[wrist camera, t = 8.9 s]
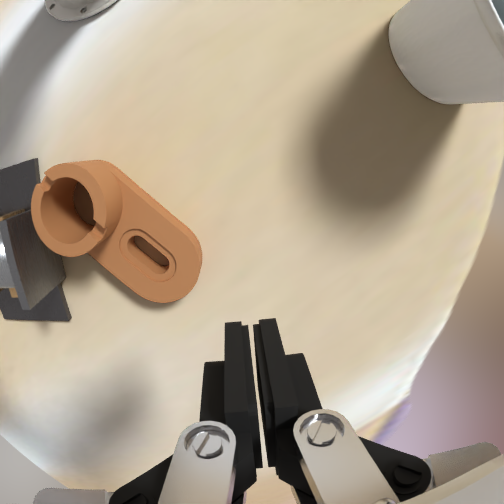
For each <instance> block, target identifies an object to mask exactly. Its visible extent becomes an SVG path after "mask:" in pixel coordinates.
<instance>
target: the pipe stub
mask: <svg viewBox="0 0 504 504" xmlns="http://www.w3.org/2000/svg"><path fill="white" fill-rule="evenodd" d="M36 184H40V175H39V165H38V158H36V159H31V160H28V161H25V162H22V163H19V164H16V165H13V166H10V167H8V168H5V169H2V170H0V309H1V311H2V314H3V317H4V319H17V320H51V321H69V320H70V319H71V318H72V317H71V314H70V311H69V308H68V305H67V302H66V299H65V296H64V292H63V289H62V285H61V282H62V281H63V280H64V279H65V278H66V275H65V271H64V267H63V263H62V259H61V255H60V254H57V253H55V252H54V251H52V250H51V249H50V248H48V247H47V246H46V245H45V244H44V243H43V241H42V240H41V239H40V237H39V235H38V234H37V232H36V229H35V227H34V224H33V220H32V214H31V201H32V195H33V191H34V188H35V186H36Z"/></svg>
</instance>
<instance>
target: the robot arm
mask: <svg viewBox="0 0 504 504" xmlns="http://www.w3.org/2000/svg"><path fill="white" fill-rule="evenodd" d="M116 1H117V0H45V4H46V9H47V11H48V13H49V14H50V15H52V16H53V17H54V18H56V19H58V20H61V21H77V20H82V19H85V18H88V17H90V16H93V15H95V14H97V13H99V12H101V11H102V10H104V9H106V8H107V7H109V6H110V5H112V4H113V3H114V2H116ZM253 331H254V343H255V356H256V368H257V381H258V391H259V399H260V407H261V414H262V422H263V430H264V437H265V445H266V452H267V460H268V467H275V468H276V475H278V476H279V479H281V480H282V481H284V482H286V483H288V484H290V486H291V490H292V493H293V495H294V498H295V500H296V503H297V504H504V454H502V455H501V453H500V451H499V450H498V448H497V447H496V446H494V445H493V444H491V443H487V442H483V443H478V444H475V445H471V446H467V447H463V448H459V449H455V450H451V451H447V452H442V453H438V454H433V455H429V457H428V458H426V459H420V458H418V457H416V456H413V455H410V454H407V453H404V452H400V451H397V450H394V449H391V448H388V447H386V446H383V445H380V444H377V443H375V442H372V441H369V440H367V439H364V438H361V437H359V436H357V434H356V432H355V431H354V429H353V428H352V426H351V425H350V423H349V421H348V420H347V419H346V418H345V417H344V416H343V415H341V414H340V413H338V412H336V411H332V410H326V409H322V406H321V403H320V400H319V398H318V395H317V392H316V389H315V386H314V383H313V380H312V377H311V374H310V371H309V368H308V366H307V363H306V360H305V357H304V355H303V353H298V354H291V355H285V352H284V349H283V345H282V341H281V337H280V334H279V330H278V326H277V322H276V319H275V318H272V319H262V320H259V324H255V325H253ZM256 468H263V464H262V453H261V442H260V432H259V420H258V410H257V401H256V392H255V384H254V375H253V366H252V357H251V348H250V339H249V330H248V325H244V326H242V324H241V322H229V323H225V361H216V362H205V364H204V373H203V385H202V396H201V409H200V422H198V423H194V424H192V425H190V426H189V427H187V428H186V429H185V430H184V431H183V432H182V433H181V435H180V437H179V439H178V442H177V445H176V448H175V451H174V454H173V455H171V456H170V457H169V458H167V459H166V460H164V461H162V462H161V463H159V464H158V465H156V466H155V467H153V468H152V469H150V470H149V471H147V472H145V473H144V474H142V475H141V476H139V477H137V478H136V479H134V480H132V481H131V482H129V483H127V484H126V485H124V486H122V487H120V488H119V489H118V490H116V491H115V492H107V491H106V490H82V489H59V488H45V489H43V490H41V491H39V492H38V493H37V495H36V496H35V498H34V502H33V504H245V503H246V495H247V493H246V490H247V489H248V488H249V487H250V486H252V485H253V484H254V483H255V482H256V481H257V479H256V477H257V475H256Z"/></svg>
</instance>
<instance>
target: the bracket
mask: <svg viewBox="0 0 504 504" xmlns="http://www.w3.org/2000/svg"><path fill="white" fill-rule="evenodd" d="M45 174H46V176H45V177H44V179H43V181H42V183H40V184H36V186H35V188H34V191H33V195H32V201H31V214H32V220H33V224H34V227H35V229H36V232H37V234H38V235H39V237H40V239H41V240H42V241H43V243H44V244H45V245H46V246H47V247H48V248H50V249H51V250H52V251H54V252H55V253H57V254H60V255H63V256H67V257H76V256H80V255H83V254H85V253H88V254H89V255H91V256H92V257H93V258H94V259H95V260H96V261H98V262H99V263H100V264H101V265H102V266H103V267H105V268H106V269H107V270H108V271H109V272H111V273H112V274H113V275H114V276H115V277H117V278H118V279H119V280H120V281H121V282H123V283H124V284H125V285H126V286H128V287H129V288H130V289H131V290H133V291H134V292H135V293H136V294H138V295H139V296H141V297H143V298H145V299H147V300H150V301H153V302H159V303H167V302H173V301H176V300H179V299H181V298H183V297H184V296H186V295H187V294H188V293H189V292H190V291H191V290H192V289H193V287H194V286H195V284H196V282H197V280H198V277H199V273H200V269H201V265H202V250H201V246H200V244H199V241H198V239H197V237H196V236H195V235H194V233H193V232H192V231H191V230H190V229H189V228H188V227H187V226H186V225H184V224H183V223H182V222H181V221H180V220H178V219H177V218H176V217H175V216H174V215H172V214H171V213H170V212H169V211H168V210H166V209H165V208H164V207H163V206H162V205H161V204H159V203H158V202H157V201H156V200H155V199H153V198H152V197H151V196H150V195H149V194H148V193H146V192H145V191H144V190H143V189H142V188H140V187H139V186H138V185H137V184H136V183H135V182H133V181H132V180H131V179H130V178H129V177H128V176H126V175H125V174H124V173H123V172H122V171H121V170H119V169H118V168H117V167H116V166H114V165H113V164H111V163H109V162H106V161H102V160H91V161H81V162H71V163H63V164H58V165H55V166H53V167H51V168H50V169H48V170H47V171H46V172H45ZM78 181H79V182H80V183H81V184H82V185H83V186H84V187H85V188H86V189H87V191H88V193H89V194H90V197H91V199H92V203H93V208H94V217H93V219H94V220H95V221H96V224H95V226H93V225H90V224H88V223H86V222H84V221H83V220H82V219H81V218H80V217H79V215H78V214H77V212H76V210H75V206H74V201H73V195H74V190H75V187H76V185H77V183H78ZM134 236H141V237H143V238H144V239H145V240H146V241H147V242H149V243H150V244H151V245H152V246H154V247H155V248H156V249H157V250H158V251H160V252H161V253H162V254H163V255H165V256H166V257H167V259H168V260H169V265H167V266H161V265H159V264H158V263H156V262H155V261H154V260H153V259H151V258H150V257H149V256H148V255H146V254H145V253H144V252H143V251H142V250H140V249H139V248H138V247H137V246H136V245H135V242H134Z"/></svg>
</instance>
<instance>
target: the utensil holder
mask: <svg viewBox="0 0 504 504" xmlns="http://www.w3.org/2000/svg"><path fill="white" fill-rule="evenodd" d="M389 43H390V48H391V51H392V54H393V57H394V59H395V61H396V63H397V65H398V67H399V68H400V70H401V72H402V73H403V75H404V76H405V77H406V79H407V80H408V81H409V82H410V83H411V84H412V86H413V87H414V88H415V89H417V90H418V91H419V92H420V93H421V94H423V95H424V96H426V97H428V98H429V99H431V100H433V101H436V102H438V103H442V104H469V103H485V102H504V0H410V1H409V2H408V3H407V4H406V5H404V6H403V7H402V8H401V9H400V10H399V11H398V12H397V13H396V14H395V15H394V16H393V18H392V19H391V22H390V25H389Z"/></svg>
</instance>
